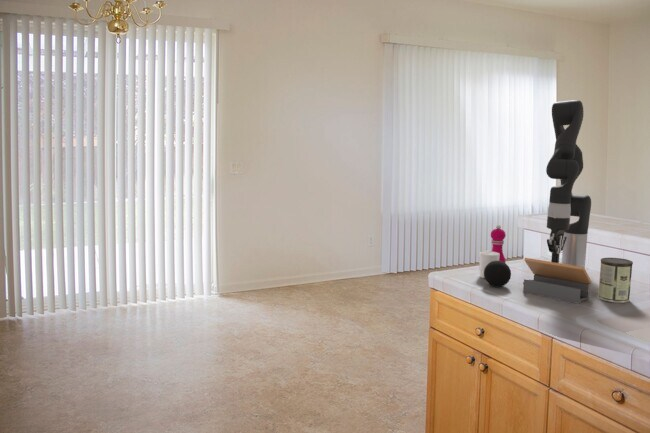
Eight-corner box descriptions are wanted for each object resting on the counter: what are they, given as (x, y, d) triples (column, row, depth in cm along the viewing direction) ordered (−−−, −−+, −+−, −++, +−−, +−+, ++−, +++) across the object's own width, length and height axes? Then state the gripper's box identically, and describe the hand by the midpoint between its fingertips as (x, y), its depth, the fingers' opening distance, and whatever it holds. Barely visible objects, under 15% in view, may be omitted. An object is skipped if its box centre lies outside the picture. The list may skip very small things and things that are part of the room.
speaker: (495, 281, 235) (497, 257, 233) (515, 287, 226) (517, 262, 225) (477, 284, 229) (478, 259, 228) (497, 291, 221) (498, 264, 219)
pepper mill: (505, 274, 247) (508, 226, 244) (487, 273, 248) (490, 226, 245) (504, 270, 254) (506, 224, 251) (486, 269, 255) (489, 223, 252)
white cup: (494, 274, 246) (496, 251, 244) (500, 279, 238) (502, 255, 237) (475, 274, 246) (477, 251, 244) (481, 279, 238) (482, 255, 236)
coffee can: (608, 293, 220) (611, 256, 218) (635, 300, 211) (639, 261, 209) (591, 297, 215) (594, 259, 212) (618, 304, 206) (622, 264, 204)
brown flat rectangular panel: (533, 274, 227) (534, 271, 227) (590, 284, 213) (591, 281, 213) (524, 260, 218) (525, 257, 219) (583, 269, 205) (583, 267, 205)
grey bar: (524, 285, 226) (525, 279, 225) (587, 297, 210) (588, 291, 210) (521, 286, 224) (522, 280, 223) (585, 299, 209) (586, 292, 208)
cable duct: (534, 287, 227) (535, 274, 226) (588, 297, 214) (589, 284, 213) (523, 292, 220) (524, 279, 219) (578, 303, 207) (579, 289, 206)
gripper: (555, 213, 218) (551, 259, 221) (541, 216, 208) (537, 264, 211) (576, 215, 213) (572, 262, 216) (562, 218, 203) (558, 267, 206)
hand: (554, 263), depth 213 cm, fingers closed
